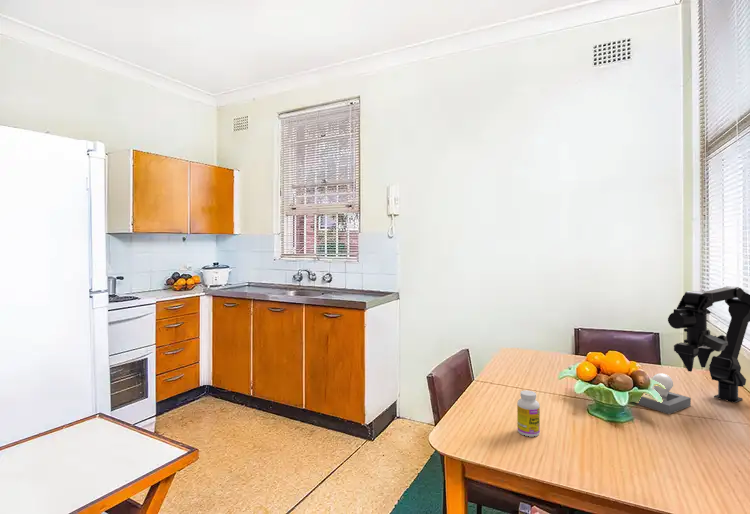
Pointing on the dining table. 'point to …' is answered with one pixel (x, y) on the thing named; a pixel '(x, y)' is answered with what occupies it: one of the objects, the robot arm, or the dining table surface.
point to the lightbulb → (664, 381)
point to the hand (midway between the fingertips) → (696, 369)
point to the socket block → (666, 403)
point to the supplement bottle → (528, 414)
